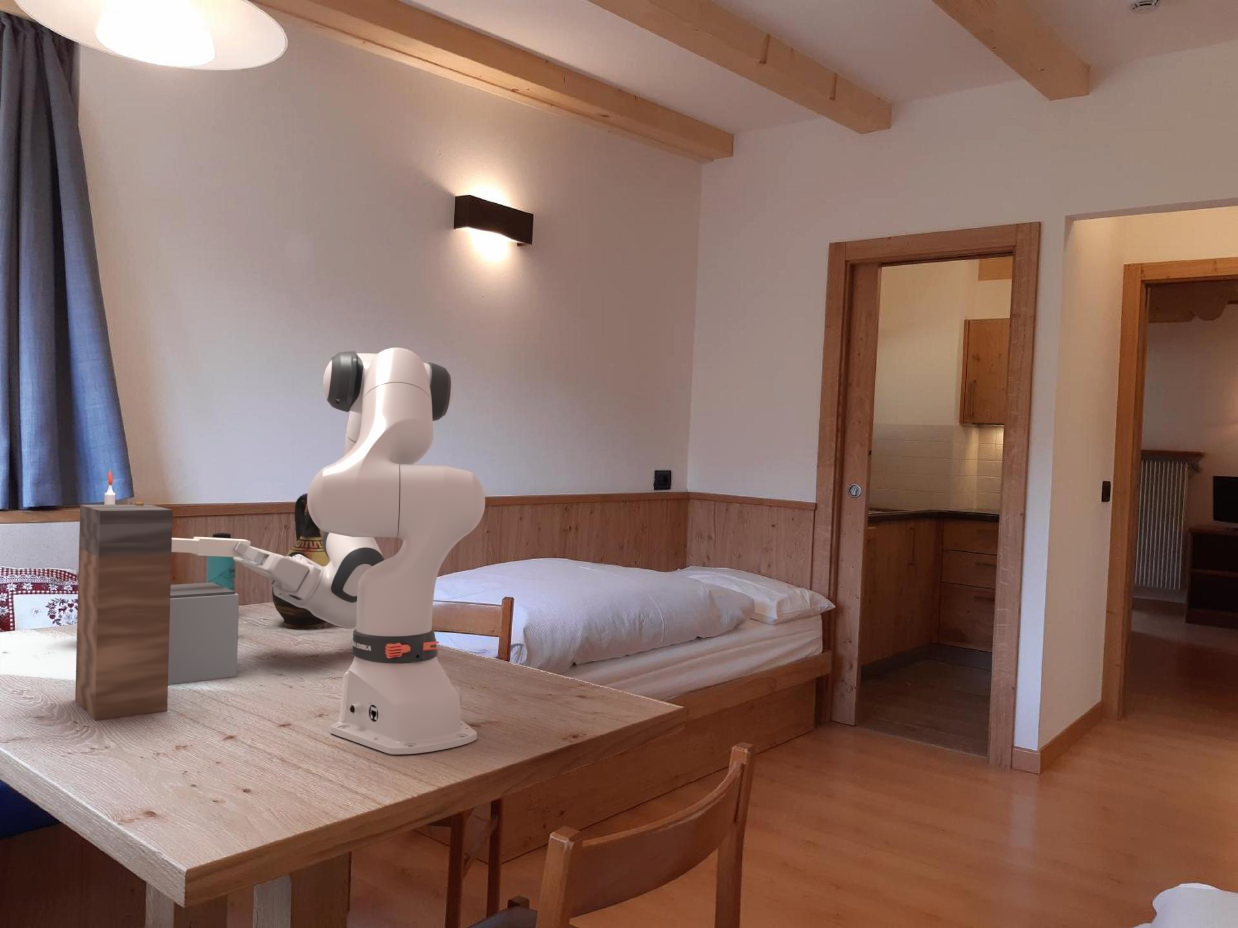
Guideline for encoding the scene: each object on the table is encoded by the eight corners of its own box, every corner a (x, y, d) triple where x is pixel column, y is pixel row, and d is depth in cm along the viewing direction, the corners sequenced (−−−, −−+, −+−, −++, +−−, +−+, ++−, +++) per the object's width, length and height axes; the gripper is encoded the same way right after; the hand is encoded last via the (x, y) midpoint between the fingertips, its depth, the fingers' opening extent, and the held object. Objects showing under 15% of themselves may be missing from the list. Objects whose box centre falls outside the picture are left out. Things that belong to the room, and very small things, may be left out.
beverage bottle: (202, 621, 225) (204, 534, 225) (206, 616, 232) (208, 531, 231) (232, 621, 227) (235, 534, 227) (235, 616, 233) (238, 531, 233)
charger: (248, 557, 181) (250, 541, 181) (153, 553, 170) (155, 536, 171) (242, 555, 184) (244, 539, 184) (147, 551, 173) (149, 534, 173)
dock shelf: (236, 676, 175) (239, 591, 175) (138, 687, 165) (141, 597, 165) (211, 661, 186) (214, 581, 186) (118, 671, 176) (120, 587, 175)
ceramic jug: (355, 626, 226) (359, 495, 225) (293, 634, 214) (297, 496, 214) (315, 616, 237) (318, 491, 237) (254, 623, 226) (258, 492, 225)
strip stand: (167, 710, 152) (172, 507, 151) (94, 720, 145) (100, 508, 145) (143, 691, 162) (148, 501, 162) (75, 699, 156) (80, 502, 156)
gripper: (283, 557, 197) (222, 524, 190) (324, 570, 181) (259, 534, 174) (267, 586, 195) (204, 553, 188) (306, 601, 180) (240, 566, 172)
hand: (231, 544), depth 181 cm, fingers closed on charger, 4 cm apart
